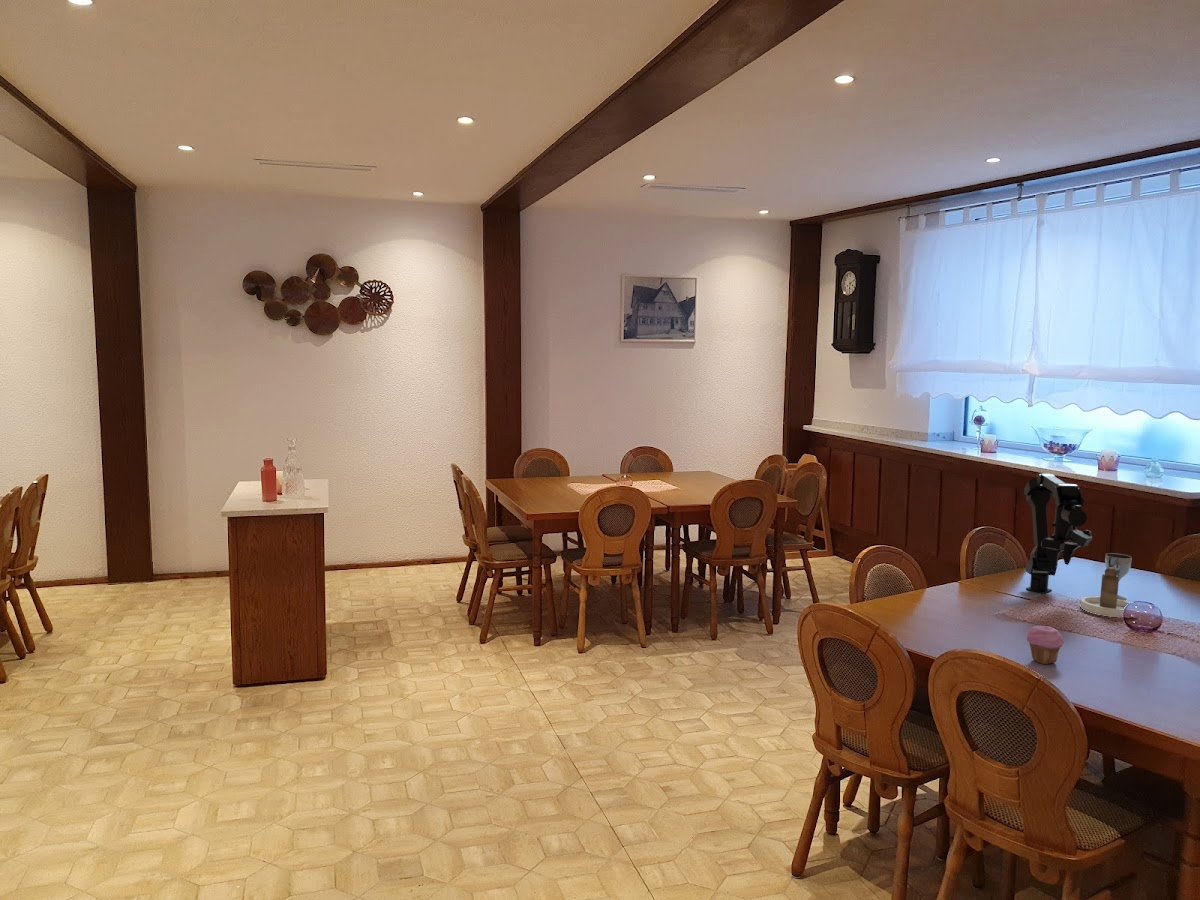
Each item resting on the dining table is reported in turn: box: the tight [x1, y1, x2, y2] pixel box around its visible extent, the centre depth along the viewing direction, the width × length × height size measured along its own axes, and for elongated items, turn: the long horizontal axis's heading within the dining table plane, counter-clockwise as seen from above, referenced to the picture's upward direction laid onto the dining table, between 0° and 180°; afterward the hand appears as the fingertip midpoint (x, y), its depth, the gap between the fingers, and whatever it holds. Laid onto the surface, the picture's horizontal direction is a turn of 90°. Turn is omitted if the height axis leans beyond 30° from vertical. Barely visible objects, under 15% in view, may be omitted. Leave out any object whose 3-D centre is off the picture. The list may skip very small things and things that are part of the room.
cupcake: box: [1026, 625, 1065, 665], centre depth 237 cm, size 9×9×10 cm
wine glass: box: [1104, 552, 1133, 601], centre depth 306 cm, size 8×8×15 cm
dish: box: [1079, 595, 1131, 618], centre depth 289 cm, size 16×16×3 cm
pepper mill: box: [1099, 567, 1120, 609], centre depth 288 cm, size 5×5×14 cm
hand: (1060, 566), depth 295 cm, fingers open, 9 cm apart
